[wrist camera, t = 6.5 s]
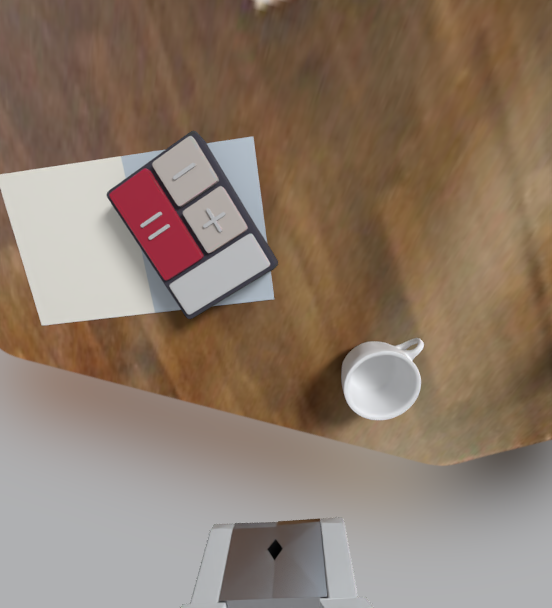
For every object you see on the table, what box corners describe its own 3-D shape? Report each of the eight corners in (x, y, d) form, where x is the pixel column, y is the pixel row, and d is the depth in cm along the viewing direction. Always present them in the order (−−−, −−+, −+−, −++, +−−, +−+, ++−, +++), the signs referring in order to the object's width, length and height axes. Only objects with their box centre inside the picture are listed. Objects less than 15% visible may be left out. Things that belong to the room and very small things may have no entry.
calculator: (191, 125, 29) (277, 267, 31) (205, 139, 33) (280, 264, 35) (99, 192, 31) (185, 323, 33) (123, 198, 35) (198, 313, 37)
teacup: (365, 406, 39) (377, 434, 34) (322, 364, 38) (327, 385, 33) (431, 353, 37) (454, 374, 32) (388, 307, 36) (404, 320, 31)
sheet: (-3, 175, 35) (-4, 175, 35) (253, 137, 33) (253, 136, 33) (43, 325, 39) (41, 325, 38) (274, 298, 37) (274, 299, 36)
